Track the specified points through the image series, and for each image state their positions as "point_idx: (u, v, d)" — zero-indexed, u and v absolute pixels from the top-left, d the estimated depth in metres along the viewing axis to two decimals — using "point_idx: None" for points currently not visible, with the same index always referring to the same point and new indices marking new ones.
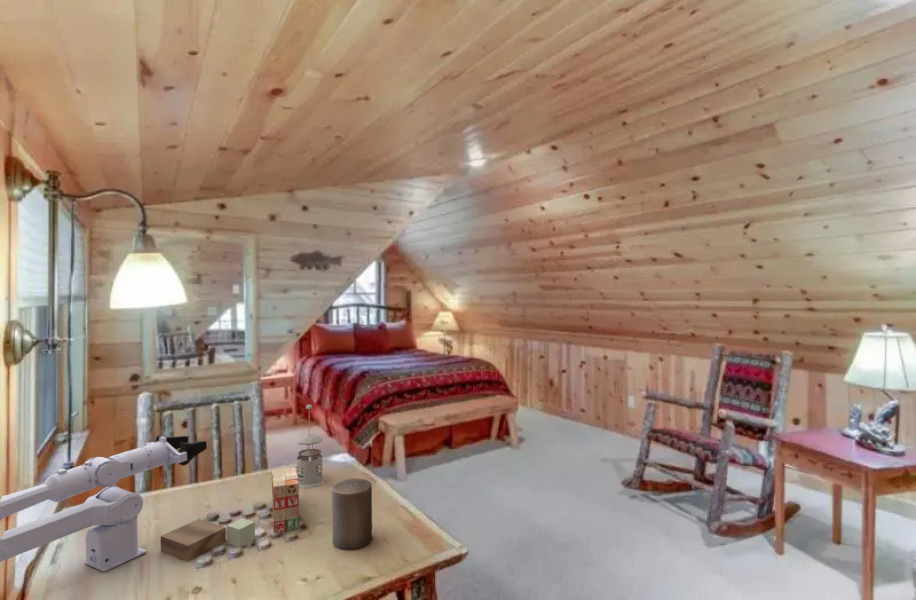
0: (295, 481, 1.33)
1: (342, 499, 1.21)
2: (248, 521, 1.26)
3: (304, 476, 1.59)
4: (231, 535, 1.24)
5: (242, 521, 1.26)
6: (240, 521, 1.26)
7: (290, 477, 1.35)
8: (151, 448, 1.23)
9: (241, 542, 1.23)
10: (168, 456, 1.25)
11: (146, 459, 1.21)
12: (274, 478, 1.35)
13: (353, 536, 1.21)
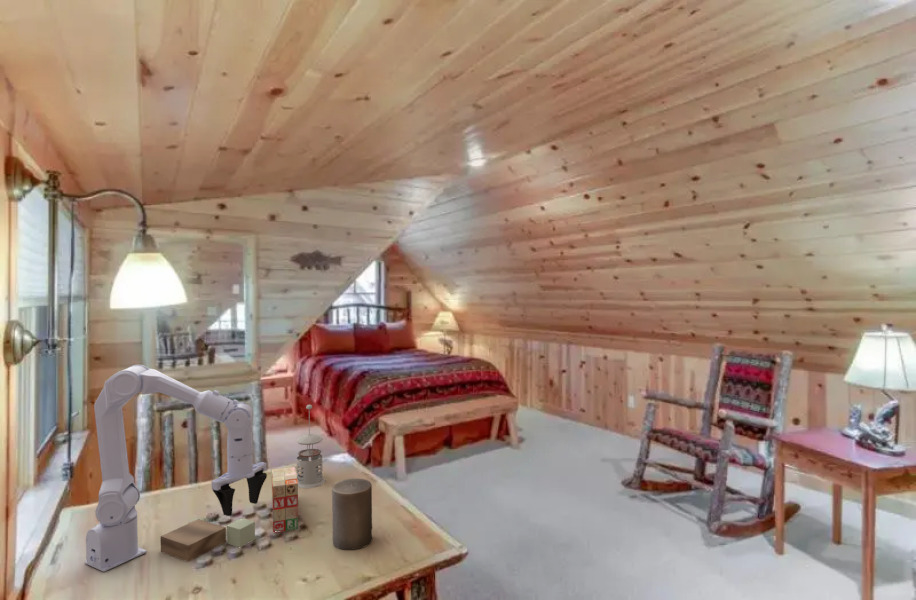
0: (294, 481, 1.33)
1: (342, 499, 1.21)
2: (248, 521, 1.26)
3: (304, 476, 1.59)
4: (231, 534, 1.24)
5: (242, 521, 1.26)
6: (240, 521, 1.26)
7: (289, 477, 1.35)
8: (242, 461, 1.22)
9: (241, 542, 1.23)
10: (229, 475, 1.23)
11: (241, 453, 1.22)
12: (273, 478, 1.35)
13: (353, 536, 1.21)
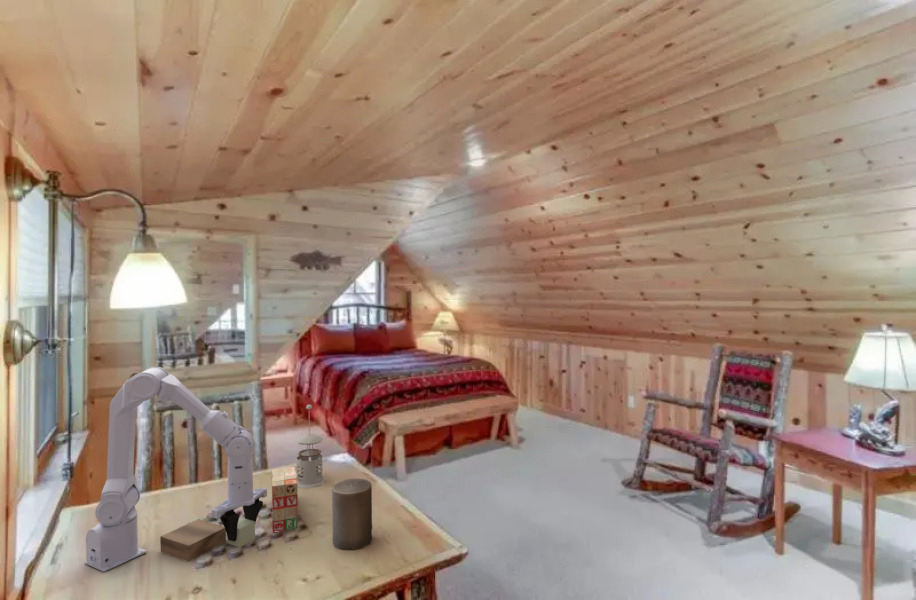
0: (294, 481, 1.33)
1: (342, 499, 1.21)
2: (248, 521, 1.26)
3: (304, 476, 1.59)
4: None
5: (242, 521, 1.26)
6: (240, 521, 1.26)
7: (289, 477, 1.35)
8: (242, 488, 1.23)
9: (241, 542, 1.23)
10: (229, 502, 1.23)
11: (241, 481, 1.23)
12: (273, 478, 1.35)
13: (353, 536, 1.21)
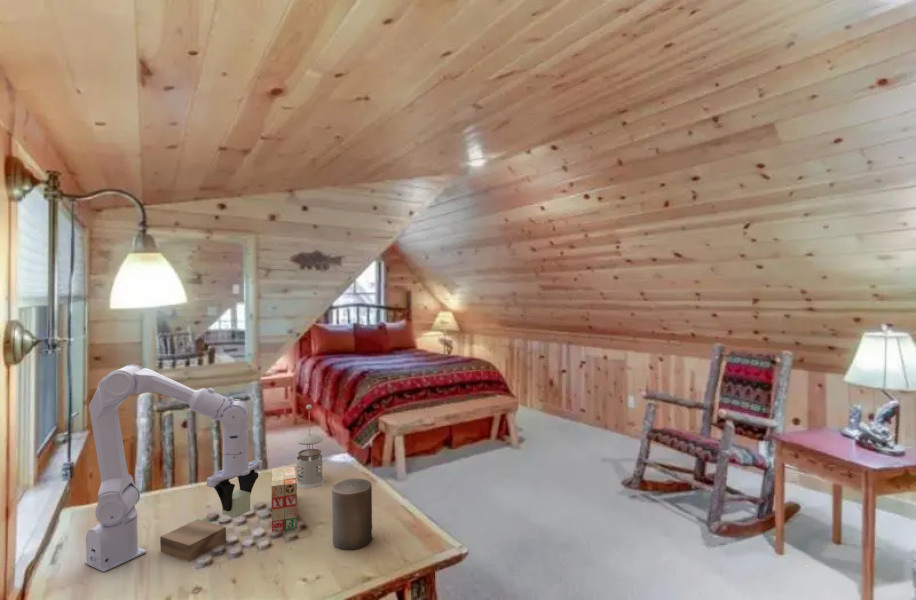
0: (293, 481, 1.33)
1: (342, 499, 1.21)
2: (243, 492, 1.26)
3: (304, 476, 1.59)
4: None
5: (238, 492, 1.26)
6: (235, 492, 1.26)
7: (288, 476, 1.35)
8: (237, 458, 1.22)
9: (236, 512, 1.22)
10: (224, 472, 1.22)
11: (236, 450, 1.22)
12: (273, 477, 1.35)
13: (353, 536, 1.21)
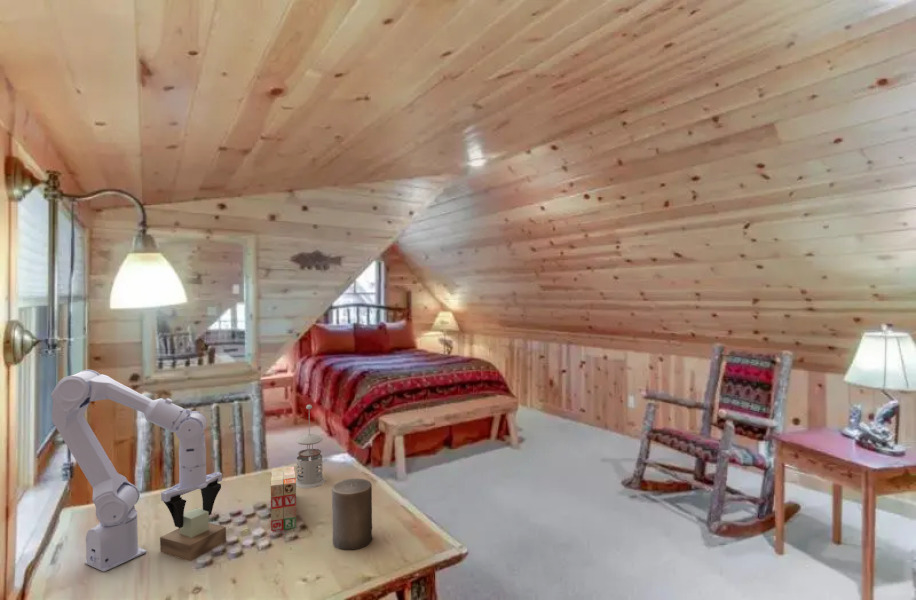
0: (292, 480, 1.33)
1: (342, 499, 1.21)
2: (202, 511, 1.24)
3: (304, 476, 1.59)
4: (184, 524, 1.21)
5: (196, 511, 1.24)
6: (194, 511, 1.24)
7: (288, 476, 1.36)
8: (193, 472, 1.20)
9: (193, 532, 1.20)
10: (180, 485, 1.20)
11: (193, 464, 1.20)
12: (272, 477, 1.35)
13: (353, 536, 1.21)
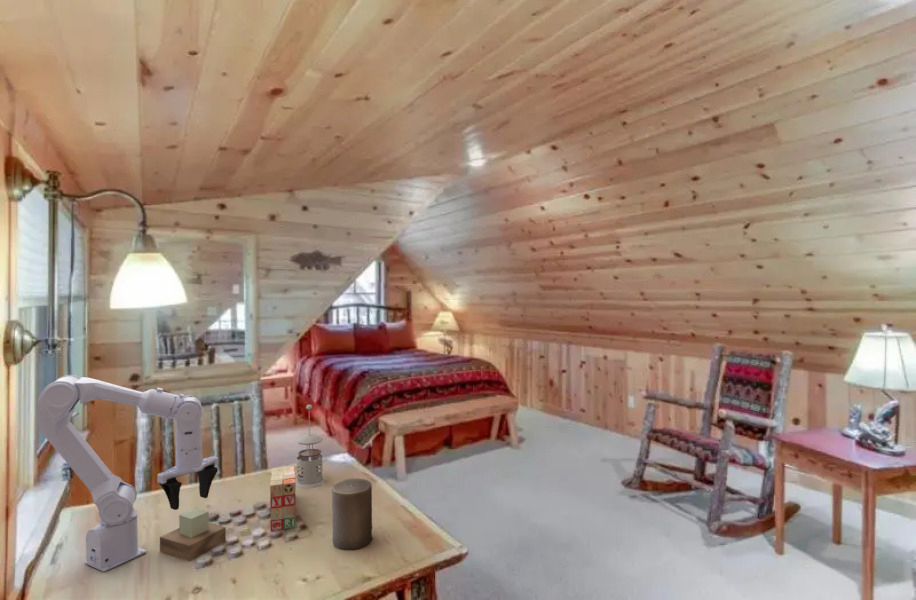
0: (292, 480, 1.34)
1: (342, 499, 1.21)
2: (202, 511, 1.24)
3: (304, 476, 1.59)
4: (184, 524, 1.21)
5: (196, 511, 1.24)
6: (194, 511, 1.24)
7: (287, 476, 1.36)
8: (189, 455, 1.22)
9: (193, 532, 1.20)
10: (177, 468, 1.22)
11: (191, 446, 1.22)
12: (272, 477, 1.35)
13: (353, 536, 1.21)
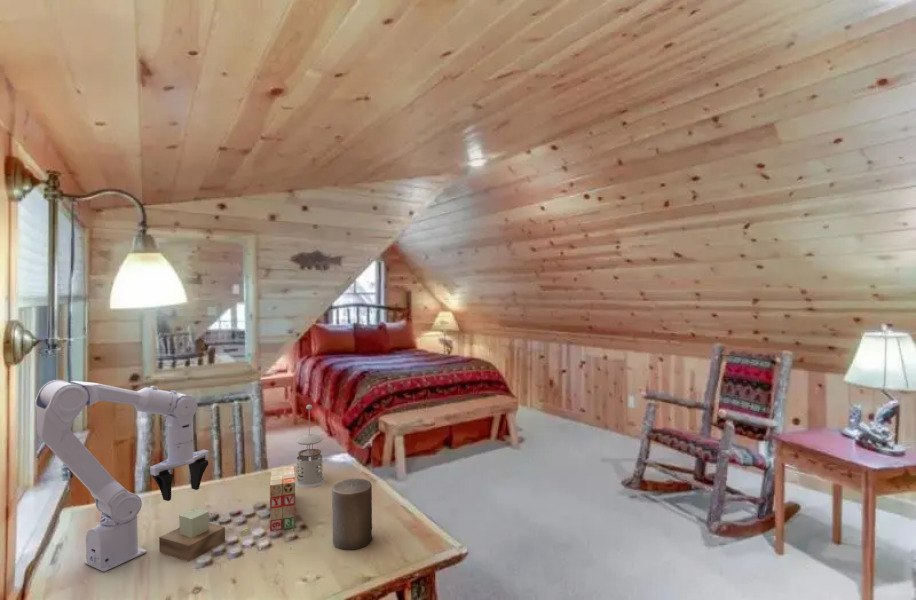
0: (292, 480, 1.34)
1: (342, 499, 1.21)
2: (202, 511, 1.24)
3: (304, 476, 1.59)
4: (184, 524, 1.21)
5: (196, 511, 1.24)
6: (194, 511, 1.24)
7: (287, 476, 1.36)
8: (181, 448, 1.27)
9: (193, 532, 1.20)
10: (169, 461, 1.27)
11: (188, 439, 1.28)
12: (272, 477, 1.36)
13: (353, 536, 1.21)
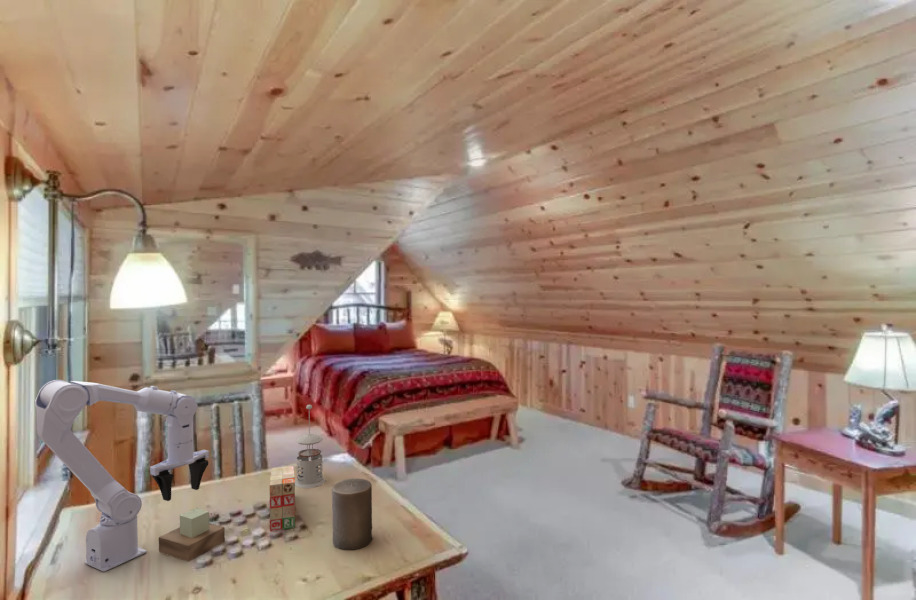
0: (291, 480, 1.34)
1: (342, 499, 1.21)
2: (202, 511, 1.24)
3: (304, 476, 1.59)
4: (184, 524, 1.21)
5: (196, 511, 1.24)
6: (194, 511, 1.24)
7: (287, 476, 1.36)
8: (181, 448, 1.27)
9: (194, 532, 1.20)
10: (169, 461, 1.27)
11: (188, 439, 1.28)
12: (271, 476, 1.36)
13: (353, 536, 1.21)
